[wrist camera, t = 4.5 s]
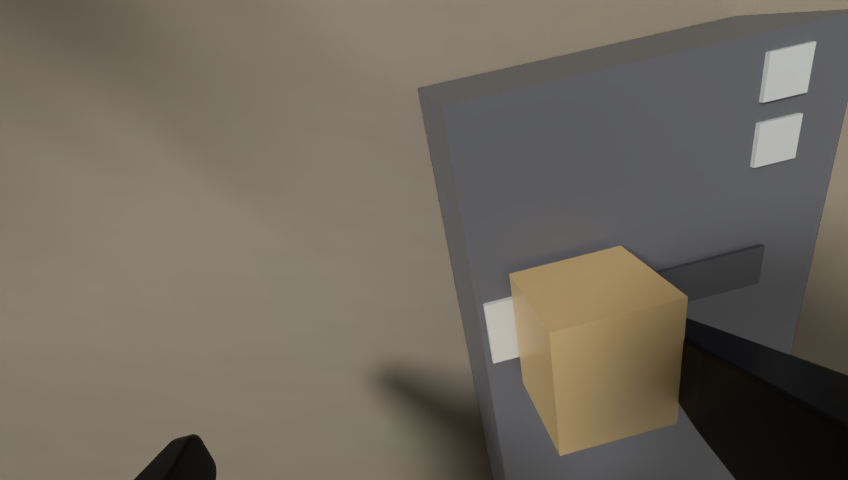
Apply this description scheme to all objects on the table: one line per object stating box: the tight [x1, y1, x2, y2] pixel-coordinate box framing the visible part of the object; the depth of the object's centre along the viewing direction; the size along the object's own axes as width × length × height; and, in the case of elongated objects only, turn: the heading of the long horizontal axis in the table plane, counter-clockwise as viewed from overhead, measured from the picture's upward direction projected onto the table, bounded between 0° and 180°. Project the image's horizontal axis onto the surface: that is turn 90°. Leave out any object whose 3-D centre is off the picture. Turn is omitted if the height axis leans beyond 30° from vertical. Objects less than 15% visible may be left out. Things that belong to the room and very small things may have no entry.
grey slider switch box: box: [418, 9, 848, 480], centre depth 14 cm, size 22×8×3 cm, turn 11°
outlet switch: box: [509, 246, 688, 456], centre depth 9 cm, size 3×2×2 cm
